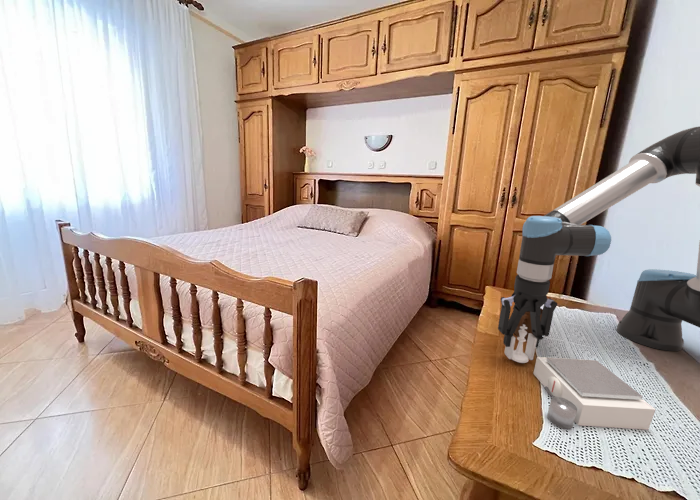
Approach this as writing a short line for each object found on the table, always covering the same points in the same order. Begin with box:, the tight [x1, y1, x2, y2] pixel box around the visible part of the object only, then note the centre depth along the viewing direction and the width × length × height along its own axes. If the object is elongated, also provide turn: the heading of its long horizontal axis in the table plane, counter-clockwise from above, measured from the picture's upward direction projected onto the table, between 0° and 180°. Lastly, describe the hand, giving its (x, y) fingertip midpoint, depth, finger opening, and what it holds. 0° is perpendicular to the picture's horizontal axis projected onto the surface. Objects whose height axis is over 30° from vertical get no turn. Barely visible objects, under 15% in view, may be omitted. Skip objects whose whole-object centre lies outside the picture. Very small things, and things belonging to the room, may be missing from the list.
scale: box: [533, 356, 656, 431], centre depth 66 cm, size 14×16×5 cm
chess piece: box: [511, 324, 530, 364], centre depth 78 cm, size 5×5×10 cm
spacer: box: [546, 397, 577, 430], centre depth 59 cm, size 4×4×4 cm
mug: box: [514, 307, 543, 341], centre depth 90 cm, size 12×8×9 cm, turn 126°
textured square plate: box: [546, 357, 644, 400], centre depth 65 cm, size 12×12×1 cm
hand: (518, 356), depth 79 cm, fingers closed on chess piece, 5 cm apart
